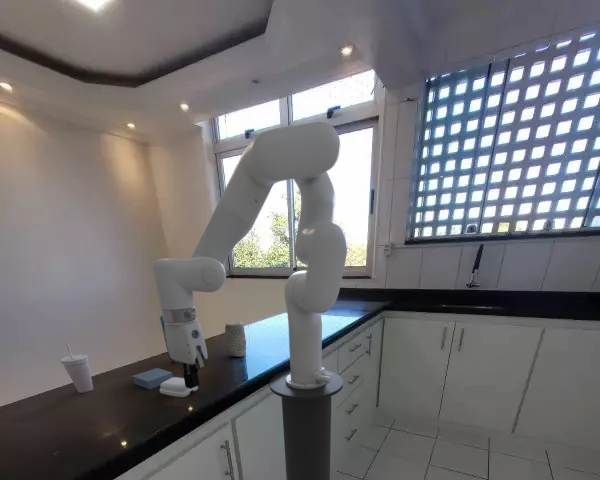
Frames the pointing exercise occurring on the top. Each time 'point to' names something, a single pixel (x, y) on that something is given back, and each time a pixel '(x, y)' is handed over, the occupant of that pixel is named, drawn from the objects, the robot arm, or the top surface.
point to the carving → (235, 339)
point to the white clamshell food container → (175, 387)
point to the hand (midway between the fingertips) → (192, 386)
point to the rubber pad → (152, 378)
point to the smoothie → (78, 370)
